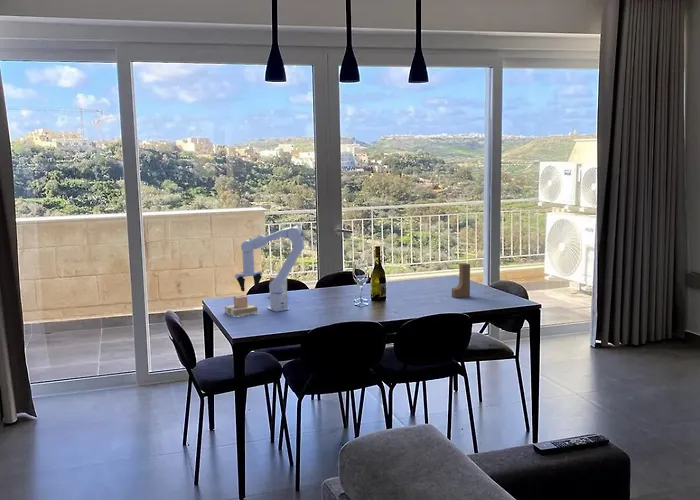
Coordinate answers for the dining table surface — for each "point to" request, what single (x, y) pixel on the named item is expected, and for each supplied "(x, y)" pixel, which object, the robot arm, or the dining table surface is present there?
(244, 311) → the birch base block
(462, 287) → the wooden block
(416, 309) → the dining table surface
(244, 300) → the terracotta cube
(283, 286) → the white rounded block
